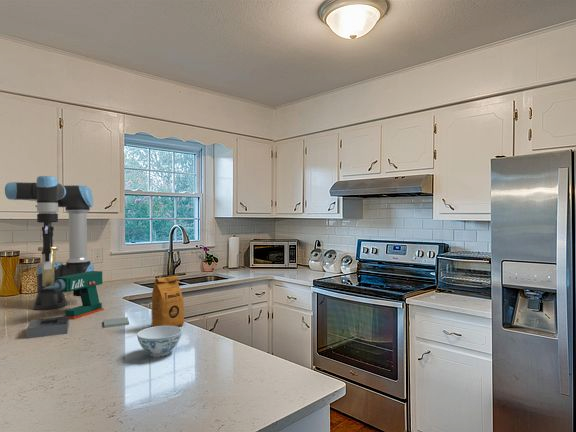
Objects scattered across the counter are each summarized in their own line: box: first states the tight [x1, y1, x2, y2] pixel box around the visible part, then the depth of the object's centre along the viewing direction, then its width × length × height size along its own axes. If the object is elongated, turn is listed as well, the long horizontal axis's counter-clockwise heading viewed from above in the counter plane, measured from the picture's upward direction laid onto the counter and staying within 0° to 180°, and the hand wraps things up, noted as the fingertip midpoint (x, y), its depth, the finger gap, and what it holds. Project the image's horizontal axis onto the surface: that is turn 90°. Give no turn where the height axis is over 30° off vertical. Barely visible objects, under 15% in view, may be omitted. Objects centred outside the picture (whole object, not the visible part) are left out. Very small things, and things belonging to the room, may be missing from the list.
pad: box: [103, 316, 130, 329], centre depth 178 cm, size 10×10×1 cm
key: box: [37, 246, 59, 286], centre depth 167 cm, size 4×7×16 cm, turn 116°
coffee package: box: [151, 275, 185, 327], centre depth 172 cm, size 10×12×22 cm
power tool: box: [43, 270, 104, 320], centre depth 189 cm, size 32×7×20 cm, turn 162°
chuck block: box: [26, 315, 70, 339], centre depth 167 cm, size 14×14×4 cm
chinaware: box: [136, 326, 183, 358], centre depth 139 cm, size 15×15×8 cm
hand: (48, 268), depth 167 cm, fingers closed on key, 4 cm apart
